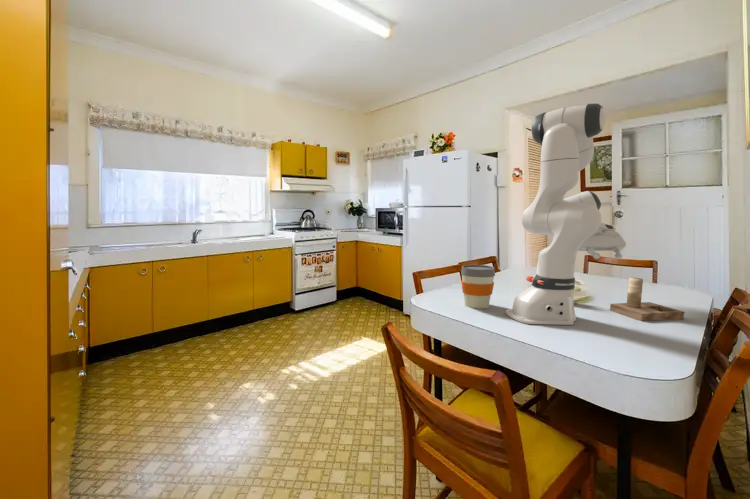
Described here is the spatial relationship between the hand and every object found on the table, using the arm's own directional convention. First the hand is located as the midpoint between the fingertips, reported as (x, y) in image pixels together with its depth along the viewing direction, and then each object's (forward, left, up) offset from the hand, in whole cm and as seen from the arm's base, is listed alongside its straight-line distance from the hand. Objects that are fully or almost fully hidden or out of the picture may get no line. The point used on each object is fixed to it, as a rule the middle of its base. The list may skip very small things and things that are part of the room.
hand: (608, 257), depth 131 cm
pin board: (+3, -15, -18) cm, 24 cm away
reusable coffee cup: (-52, +5, -19) cm, 55 cm away
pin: (0, -12, -16) cm, 20 cm away
